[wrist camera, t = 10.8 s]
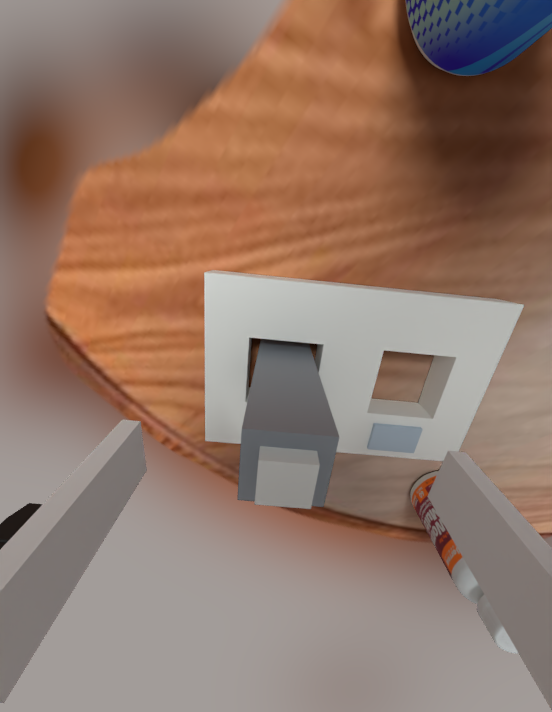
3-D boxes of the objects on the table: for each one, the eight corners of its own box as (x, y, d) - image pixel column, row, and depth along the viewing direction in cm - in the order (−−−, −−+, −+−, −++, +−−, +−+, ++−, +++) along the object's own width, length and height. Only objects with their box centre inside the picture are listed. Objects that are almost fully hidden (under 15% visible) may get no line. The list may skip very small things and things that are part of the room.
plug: (261, 338, 22) (238, 441, 10) (308, 342, 22) (344, 451, 10) (257, 381, 23) (234, 516, 11) (302, 385, 23) (326, 523, 11)
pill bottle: (404, 475, 27) (484, 617, 16) (466, 461, 26) (591, 601, 16) (412, 515, 29) (487, 663, 19) (469, 503, 28) (582, 651, 18)
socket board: (213, 270, 20) (203, 272, 17) (496, 298, 20) (528, 305, 18) (212, 423, 25) (204, 443, 22) (437, 443, 25) (455, 464, 23)
